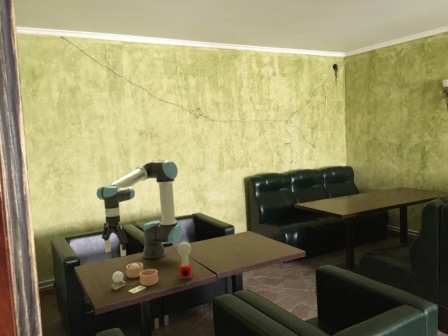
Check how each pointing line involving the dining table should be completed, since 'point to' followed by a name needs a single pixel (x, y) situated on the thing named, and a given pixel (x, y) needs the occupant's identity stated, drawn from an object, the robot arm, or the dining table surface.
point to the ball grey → (118, 277)
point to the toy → (184, 260)
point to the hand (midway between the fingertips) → (115, 253)
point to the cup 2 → (148, 277)
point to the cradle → (118, 285)
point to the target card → (137, 289)
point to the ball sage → (134, 266)
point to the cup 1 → (134, 270)
